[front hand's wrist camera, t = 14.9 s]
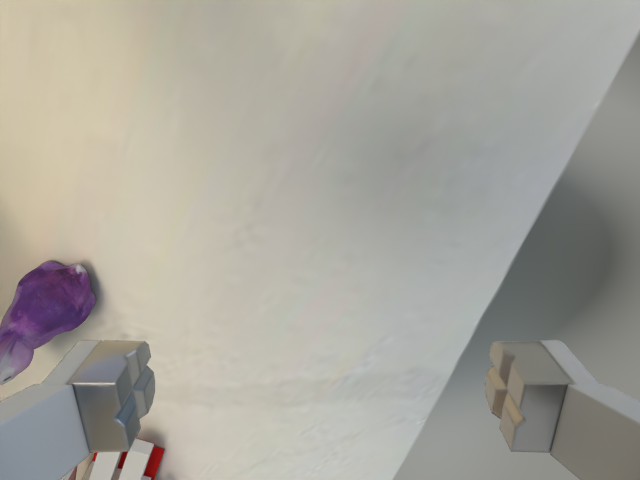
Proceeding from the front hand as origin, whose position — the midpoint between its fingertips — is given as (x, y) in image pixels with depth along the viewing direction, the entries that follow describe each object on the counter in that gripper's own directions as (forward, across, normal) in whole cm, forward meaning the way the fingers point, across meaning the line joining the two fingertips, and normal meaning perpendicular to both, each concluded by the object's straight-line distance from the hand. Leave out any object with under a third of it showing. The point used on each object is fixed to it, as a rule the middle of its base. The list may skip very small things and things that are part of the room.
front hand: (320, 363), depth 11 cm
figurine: (+41, +32, +21) cm, 56 cm away
